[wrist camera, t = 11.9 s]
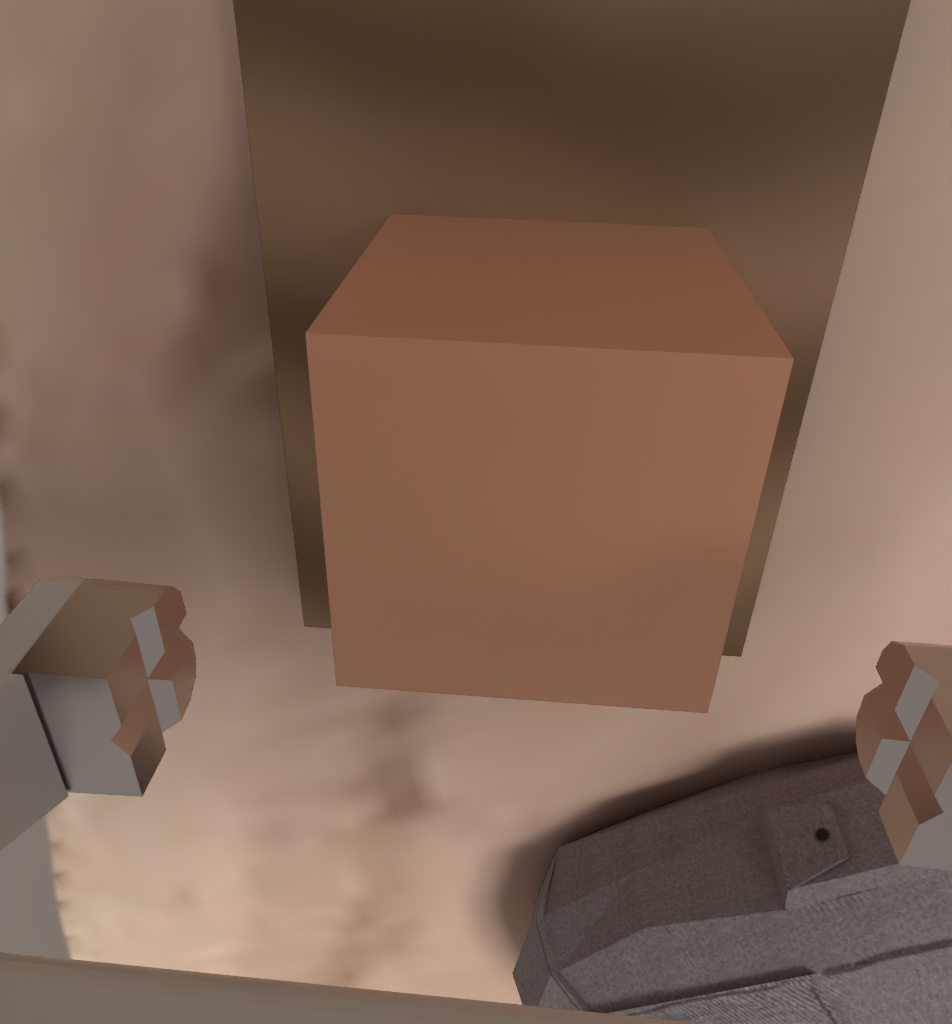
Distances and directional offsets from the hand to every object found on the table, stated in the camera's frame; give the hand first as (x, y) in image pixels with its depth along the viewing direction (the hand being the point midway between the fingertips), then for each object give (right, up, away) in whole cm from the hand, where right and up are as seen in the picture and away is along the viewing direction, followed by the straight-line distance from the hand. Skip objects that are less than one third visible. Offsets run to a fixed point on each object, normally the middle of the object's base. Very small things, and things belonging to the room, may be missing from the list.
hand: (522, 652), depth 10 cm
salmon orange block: (+1, +5, +9) cm, 10 cm away
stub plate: (+1, +6, +10) cm, 12 cm away
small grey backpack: (+11, -11, +20) cm, 26 cm away
